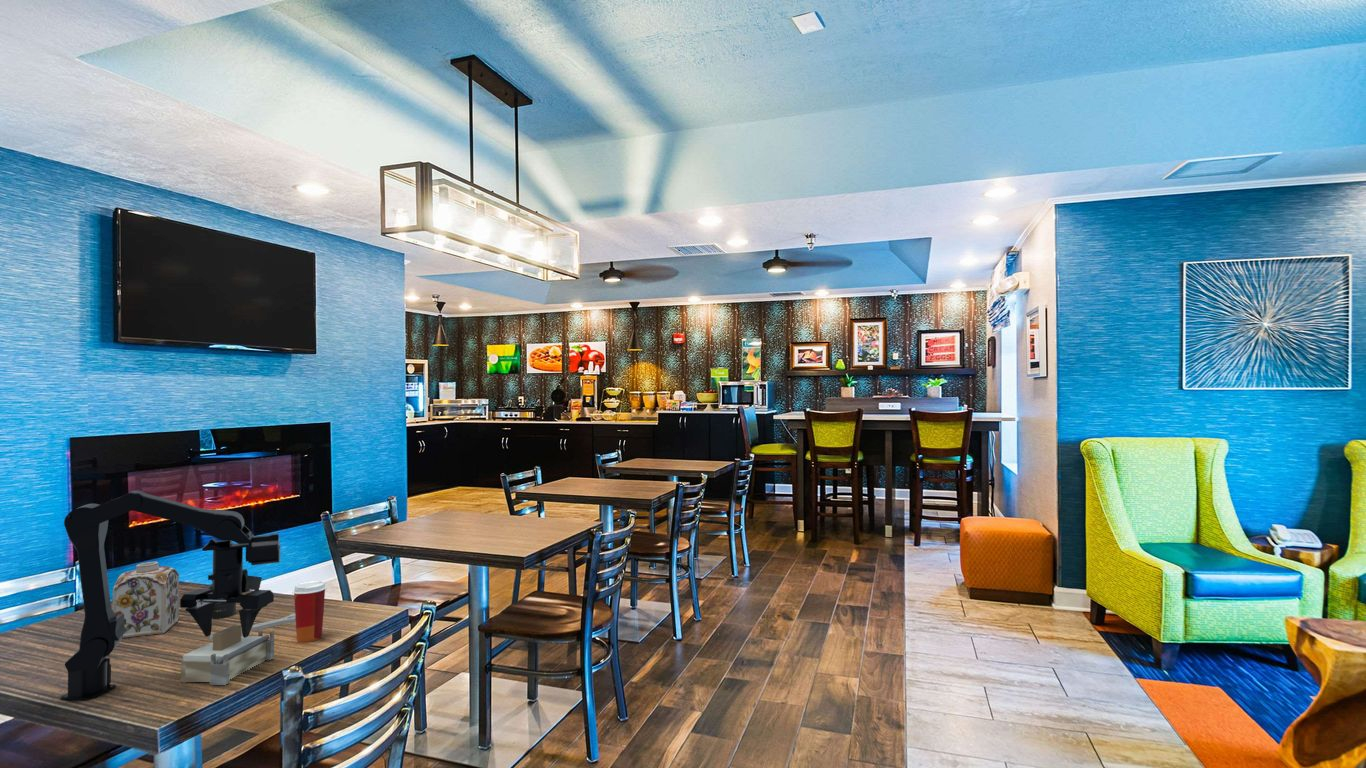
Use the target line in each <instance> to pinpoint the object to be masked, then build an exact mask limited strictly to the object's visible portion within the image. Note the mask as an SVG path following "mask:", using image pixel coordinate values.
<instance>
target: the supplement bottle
mask: <svg viewBox="0 0 1366 768" xmlns="http://www.w3.org/2000/svg"><path fill="white" fill-rule="evenodd" d="M212 582H213V580H211V584H209V585H208V586H207V589H212ZM221 599H224V598H221ZM231 599H234V598H231ZM236 612H237V603H216V604H215V606H214V608H213V610H212V618H217V619H223V617H224V618H227V616H228V617H230V615H231V616H233V615H235V614H236ZM234 613H235V614H234Z"/></svg>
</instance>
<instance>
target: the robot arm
mask: <svg viewBox="0 0 1366 768" xmlns="http://www.w3.org/2000/svg"><path fill="white" fill-rule="evenodd" d="M129 512H137V513H141V514H145V515H147V516H152V517H156V518H159V519H164V520H168V521H172V522H176V523H179V524H182V525H183V524H184V525H187V526H191V527H193V528H195V529H197V530H198V531H199V530H200V531H201V532H203V533H204V534H206V535H208V536H211V537H212V538H210V540H209V542H208V543H206V544H205V545H204V546H203V547H202V548H201V551H202V552H206V551H207V552H208V551H212V573H211V574H209V575H207V580H209V581H211V584H212V589H208V588H197V589H196V590H193V591H189V592H186V593H184V594H183V595H182V596H181V598H179V609H180V608H182V609H184V610H185V612H188V613H189V614H190V615H191V617H192V618H193V620H195V622H196V623H197V625H198V627H199V629H200V630H201V631H202V633H203V635H204V637H207V638H208V637H209V636H210V635H211V634H212V629H213V628H212V627H213V625H212V624H213V619H212V610H213V608H214V606H215V604H216V603H236V604H239V606H240V607H241V608H242V609H239V610H238V615H239V620H240V621H239V622H240V625H241V629H242V634H241V635H242V636H243V637H244V638H246V637H248V636H250V633H251V632H250V631H251V628H252V626H253V625H254V623H255V620H256V618H257V616H258V615H259V612H260V611H262V609H263V608H266V607H267V606H268V605H269V604H271V603H273V602H274V600H275V597H274V596H275V595H274V594H275V593H274V592H273V591H272V590H271V589H260V588H261V583H262V579H263V577H261V576H255V575H249V574H248V572H249V571H248V569H247V568H245V569H244V568H243V567H244V564H243V563H244V562H243V561H244V559H243V558H244V548H245V562H248V564H251V566H258V565H259V566H260V565H268V564H269V565H270V564H279V563H281V562H280V561H281V545H280V533H278V532H277V533H276V532H275V533H271V534H264V535H263V534H262V535H254V533H253V532H252V531H251V530H250V529H249V528H248V527H247V526H246V525H245V519H244V517H243V515H242V514H241V513H239V512H237V511H233V510H224V509H212V508H210V509H209V508H202V507H198V506H197V507H196V506H193V505H189V504H186V503H182V502H179V501H174V500H172V499H167V498H164V497H160V496H157V495H153V494H149V493H146V492H144V491H142V490H139V489H138V490H132V491H130V492H128V493H125V494H124V495H122V496H119V497H117V498H113V499H111V500H109V501H105V502H104V503H101V504H98V503H87V504H84V505H82V506H79V507H77V508H75V509H72V510H71V511H70V512H68V514H67V515H66V516H65V517H64V520H63V525H64V528H65V530H66V534H67V536H68V539H69V541H70V543H71V544H72V545H73V547H74V548H75V550H76V553H77V560H78V569H79V578H80V586H81V594H82V602H83V610H84V620H83V624H82V628H81V633H80V639H79V648H78V650H77V651H76V652H75V653H74V654H72V656H70V658H69V659H68V660H67V661H66V662H65V663H64V667H65V669H66V671H67V693H64V694H63V695H61V696H60V700H76V701H77V700H80V701H81V700H82V701H85V700H86V701H88V700H91V699H93V698H95V697H98V696H100V695H102V694H104V693H106V692H108V691H111V690H113V689H115V688H116V687H117V684H114V683H113V684H111V683H112V664H111V658H110V657H109V655H110V654H111V653H112V652H113V651H114V650H115V649H116V647H117V646H119V644H121V642H122V640H123V639H124V638H123V635H124V633H125V632H126V631H127V630H126V628H125V627H124V614H121V615H118V616H116V615H115V613H114V612H113V610H112V604H111V603H112V601H111V596H110V594H111V593H110V587H109V586H110V585H109V578H108V576H109V575H108V569H107V561H106V551H105V541H106V537H107V533H108V527H109V520H111V519H114V518H117V517H120V516H121V515H124V514H127V513H129ZM216 539H217V540H216ZM233 542H234V543H233ZM212 580H213V582H212ZM250 591H251V592H250ZM243 593H244V594H243ZM245 593H246V594H245ZM221 598H224V599H221ZM231 598H234V599H231Z"/></svg>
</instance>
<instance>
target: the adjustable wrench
mask: <svg viewBox="0 0 1366 768" xmlns="http://www.w3.org/2000/svg"><path fill="white" fill-rule="evenodd" d="M292 622H296V619H295V613H290V614H289V615H287V616H284V617H282V618H278V619H274V620H269V621H264V622H261V623H256V624H253V626H252V628H251V631H253V632H256V631H255V630H257V631H261V630H265V629H264V628H266V629H269V628H268V627H270V628H274V627H273V626H275V627H277V626H276V625H279V626H281V625H280V624H284V623H290V624H293V623H292ZM284 625H285V624H284ZM260 629H261V630H260ZM215 633H216V632H215ZM215 633H211V635H210V636H208V637H209V639H208V640H209V641H213V634H215ZM241 635H243V634H242V629H241Z"/></svg>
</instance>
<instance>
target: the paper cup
mask: <svg viewBox="0 0 1366 768" xmlns="http://www.w3.org/2000/svg"><path fill="white" fill-rule="evenodd" d="M326 589H327V586H326V584H325V582H324V581H320V580H314V581H312V580H311V581H306V582H301V583H297V584H296V585H295V586H294V588H293V590H292V593H293V597H294V598H293V599H294V614H295V619H296V623H295V630H296V631H295V632H296V633H295V634H296V641H297V642H298V643H301V642H303V644H304V643H311V642H316V641H318V640H321V638H322V635H323V624H324V622H323V621H324V614H325V613H324V611H325V596H326V595H325V594H326Z"/></svg>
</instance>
